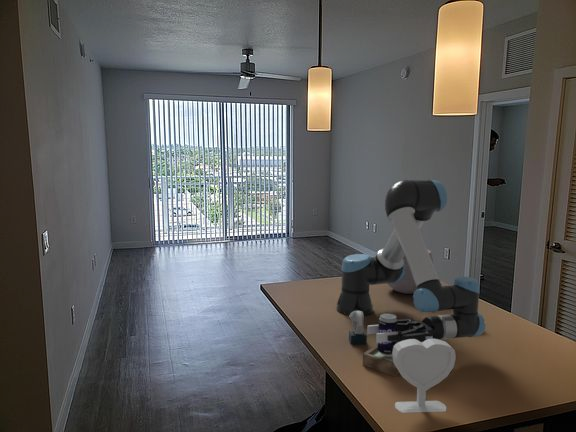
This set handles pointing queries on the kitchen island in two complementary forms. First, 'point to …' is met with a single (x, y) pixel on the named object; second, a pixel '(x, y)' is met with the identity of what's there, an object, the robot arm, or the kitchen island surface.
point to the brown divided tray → (380, 361)
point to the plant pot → (406, 280)
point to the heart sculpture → (423, 370)
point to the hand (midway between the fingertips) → (372, 333)
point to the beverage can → (387, 325)
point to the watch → (357, 328)
